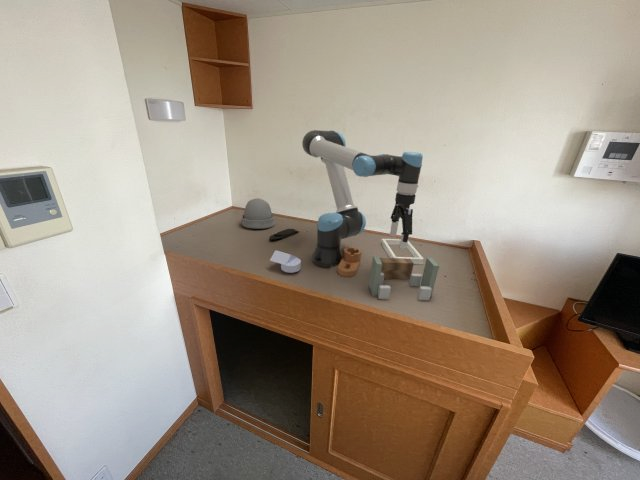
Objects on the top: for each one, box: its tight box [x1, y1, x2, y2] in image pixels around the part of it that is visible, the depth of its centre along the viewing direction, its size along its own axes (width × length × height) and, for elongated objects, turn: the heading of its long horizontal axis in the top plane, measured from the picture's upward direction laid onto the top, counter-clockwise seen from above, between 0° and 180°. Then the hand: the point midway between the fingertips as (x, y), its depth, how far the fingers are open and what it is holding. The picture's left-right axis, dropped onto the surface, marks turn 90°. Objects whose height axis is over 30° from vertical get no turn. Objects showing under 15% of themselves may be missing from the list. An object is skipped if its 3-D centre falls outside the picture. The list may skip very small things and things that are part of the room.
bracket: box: [337, 246, 362, 278], centre depth 126 cm, size 18×8×7 cm, turn 161°
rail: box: [379, 257, 415, 280], centre depth 120 cm, size 16×4×8 cm, turn 92°
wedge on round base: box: [269, 250, 302, 274], centre depth 124 cm, size 9×7×13 cm
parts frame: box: [380, 238, 425, 265], centre depth 145 cm, size 15×25×3 cm, turn 2°
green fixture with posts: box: [368, 255, 440, 301], centre depth 108 cm, size 24×12×14 cm, turn 92°
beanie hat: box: [241, 197, 276, 230], centre depth 173 cm, size 21×21×20 cm
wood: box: [269, 228, 300, 241], centre depth 159 cm, size 22×7×3 cm, turn 142°
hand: (397, 242), depth 115 cm, fingers open, 13 cm apart
